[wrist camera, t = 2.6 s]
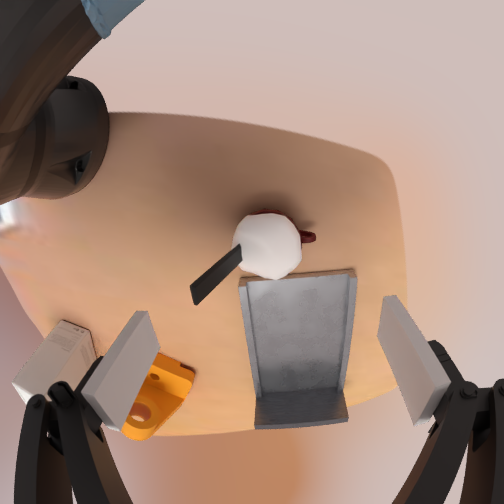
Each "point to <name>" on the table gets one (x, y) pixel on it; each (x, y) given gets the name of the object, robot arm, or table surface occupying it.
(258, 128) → the table surface
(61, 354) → the skincare box
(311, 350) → the grey dustpan
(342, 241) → the table surface
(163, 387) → the bracket
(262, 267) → the cocoa
